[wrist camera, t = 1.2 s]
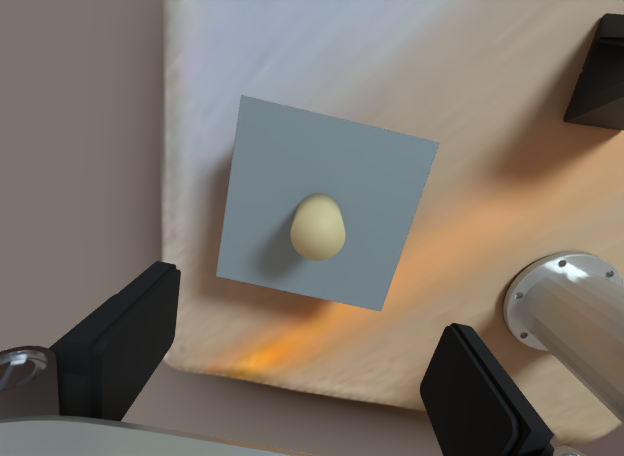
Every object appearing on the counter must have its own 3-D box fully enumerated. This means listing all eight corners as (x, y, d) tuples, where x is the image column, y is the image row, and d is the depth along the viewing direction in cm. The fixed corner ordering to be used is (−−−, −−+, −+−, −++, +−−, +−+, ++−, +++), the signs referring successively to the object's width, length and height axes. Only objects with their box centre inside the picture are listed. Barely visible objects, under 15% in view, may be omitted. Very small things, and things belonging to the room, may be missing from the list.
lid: (433, 141, 24) (470, 146, 18) (378, 304, 29) (393, 350, 23) (245, 96, 23) (219, 86, 17) (220, 270, 28) (193, 308, 22)
